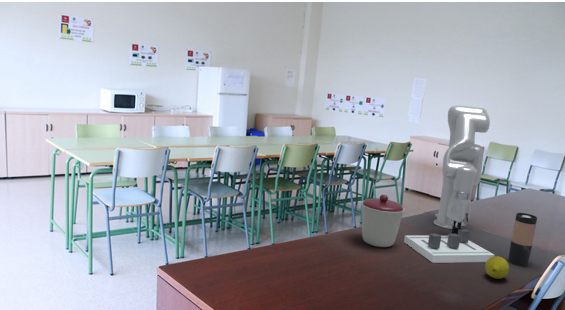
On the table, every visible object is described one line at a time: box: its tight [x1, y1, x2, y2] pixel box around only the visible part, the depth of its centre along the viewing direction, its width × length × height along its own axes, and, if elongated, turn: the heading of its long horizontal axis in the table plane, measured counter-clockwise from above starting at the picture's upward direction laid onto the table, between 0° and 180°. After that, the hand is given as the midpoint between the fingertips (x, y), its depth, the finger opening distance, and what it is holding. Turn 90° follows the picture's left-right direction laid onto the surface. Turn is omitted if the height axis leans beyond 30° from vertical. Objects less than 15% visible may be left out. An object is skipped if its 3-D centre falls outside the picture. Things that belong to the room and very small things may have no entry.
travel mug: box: [507, 212, 538, 267], centre depth 183 cm, size 8×8×20 cm
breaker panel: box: [403, 235, 496, 264], centre depth 189 cm, size 22×28×3 cm
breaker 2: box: [447, 233, 461, 248], centre depth 185 cm, size 3×4×5 cm
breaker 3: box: [458, 228, 471, 243], centre depth 193 cm, size 3×4×5 cm
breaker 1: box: [428, 233, 442, 248], centre depth 183 cm, size 3×4×5 cm
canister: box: [360, 194, 406, 248], centre depth 190 cm, size 18×18×21 cm
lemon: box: [484, 255, 510, 280], centre depth 165 cm, size 11×8×8 cm
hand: (455, 235), depth 198 cm, fingers closed
